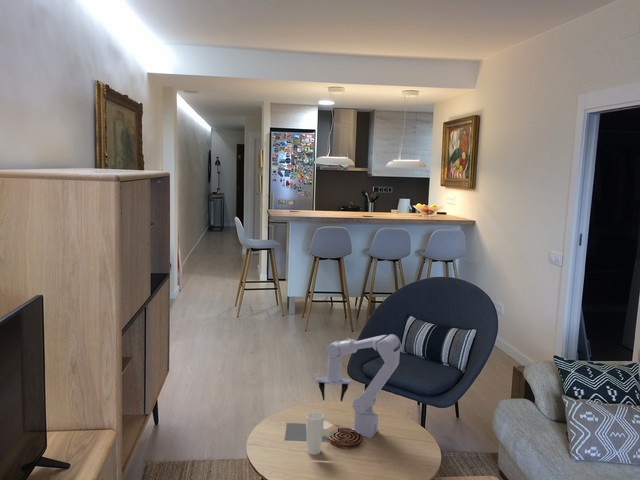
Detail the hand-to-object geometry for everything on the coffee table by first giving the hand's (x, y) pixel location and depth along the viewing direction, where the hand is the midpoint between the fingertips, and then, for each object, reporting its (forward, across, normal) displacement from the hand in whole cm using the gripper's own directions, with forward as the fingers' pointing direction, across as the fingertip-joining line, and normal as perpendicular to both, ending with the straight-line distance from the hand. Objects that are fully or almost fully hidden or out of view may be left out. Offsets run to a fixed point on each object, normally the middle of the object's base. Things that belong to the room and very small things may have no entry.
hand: (332, 399), depth 229 cm
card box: (+9, -2, -12) cm, 15 cm away
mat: (+9, -8, -12) cm, 17 cm away
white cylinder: (+10, -7, -26) cm, 29 cm away
